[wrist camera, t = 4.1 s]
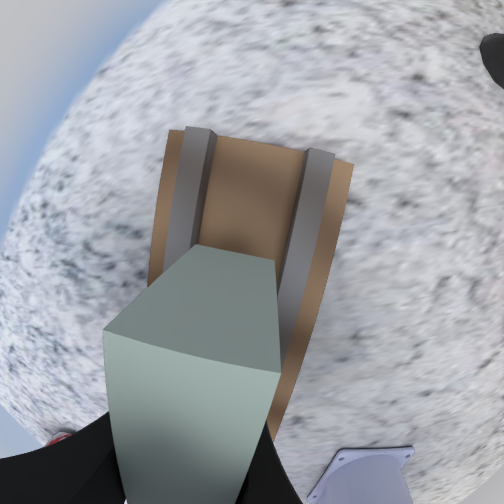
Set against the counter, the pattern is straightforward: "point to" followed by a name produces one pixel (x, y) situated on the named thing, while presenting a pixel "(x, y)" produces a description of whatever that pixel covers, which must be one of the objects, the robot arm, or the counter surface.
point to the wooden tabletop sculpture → (494, 56)
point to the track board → (256, 224)
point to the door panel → (193, 377)
